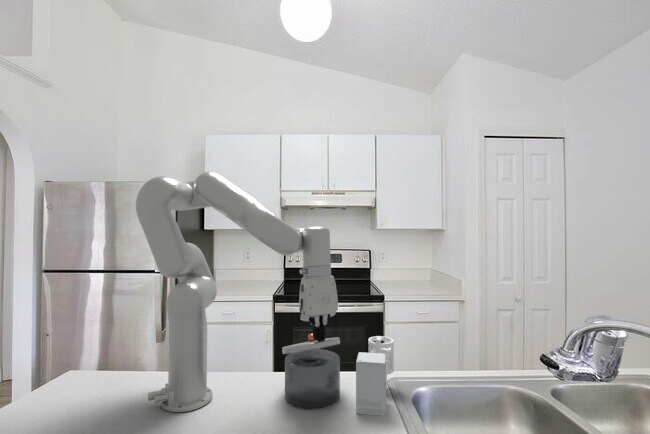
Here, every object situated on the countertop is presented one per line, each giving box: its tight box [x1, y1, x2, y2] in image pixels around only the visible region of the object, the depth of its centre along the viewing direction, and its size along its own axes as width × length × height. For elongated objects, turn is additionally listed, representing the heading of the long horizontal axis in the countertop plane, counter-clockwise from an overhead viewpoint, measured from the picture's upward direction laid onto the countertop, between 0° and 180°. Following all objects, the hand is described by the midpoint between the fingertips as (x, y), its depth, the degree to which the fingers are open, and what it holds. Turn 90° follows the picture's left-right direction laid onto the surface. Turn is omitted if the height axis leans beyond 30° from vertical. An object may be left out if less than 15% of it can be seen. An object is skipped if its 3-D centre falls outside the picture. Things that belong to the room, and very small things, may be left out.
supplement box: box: [355, 351, 387, 417], centre depth 86 cm, size 7×7×13 cm
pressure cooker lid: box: [281, 333, 341, 355], centre depth 94 cm, size 16×16×4 cm
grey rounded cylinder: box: [284, 348, 341, 411], centre depth 93 cm, size 15×15×10 cm
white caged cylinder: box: [368, 335, 395, 392], centre depth 96 cm, size 7×7×15 cm
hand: (319, 339), depth 92 cm, fingers closed
